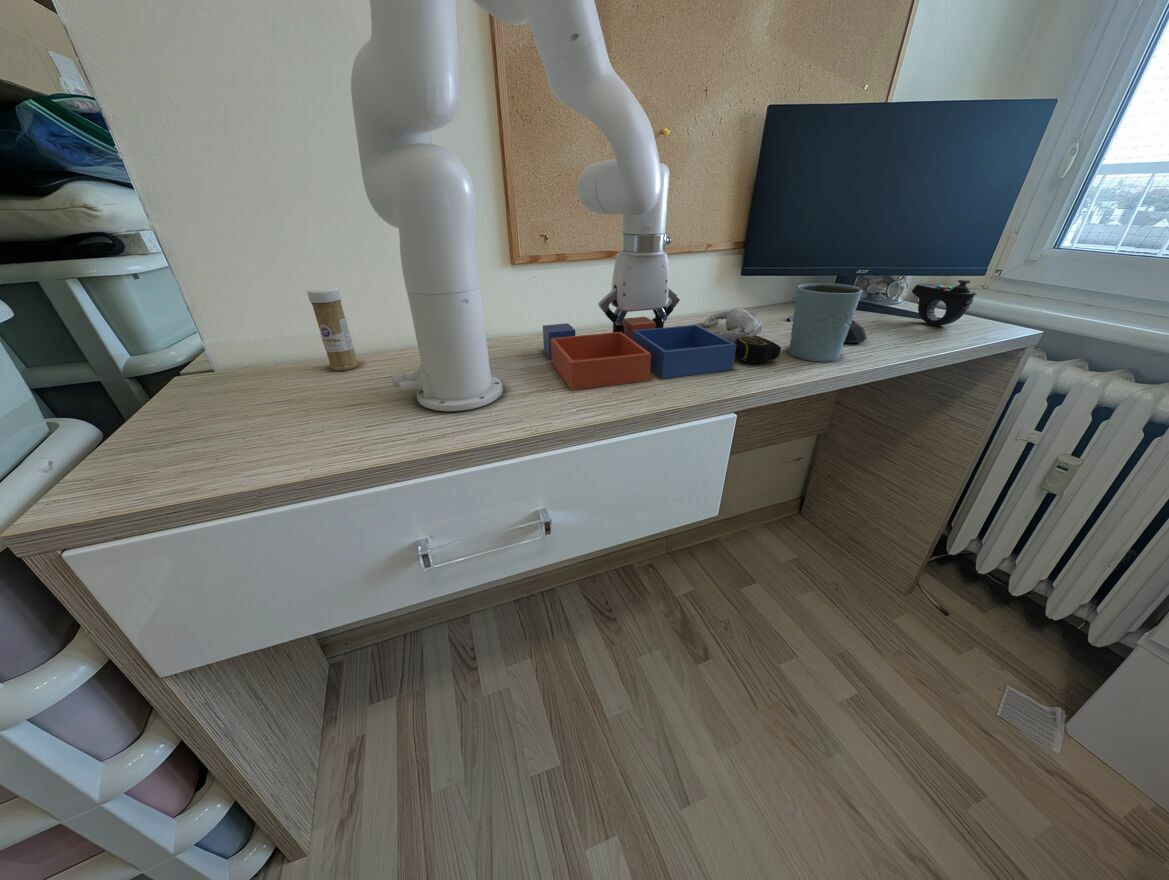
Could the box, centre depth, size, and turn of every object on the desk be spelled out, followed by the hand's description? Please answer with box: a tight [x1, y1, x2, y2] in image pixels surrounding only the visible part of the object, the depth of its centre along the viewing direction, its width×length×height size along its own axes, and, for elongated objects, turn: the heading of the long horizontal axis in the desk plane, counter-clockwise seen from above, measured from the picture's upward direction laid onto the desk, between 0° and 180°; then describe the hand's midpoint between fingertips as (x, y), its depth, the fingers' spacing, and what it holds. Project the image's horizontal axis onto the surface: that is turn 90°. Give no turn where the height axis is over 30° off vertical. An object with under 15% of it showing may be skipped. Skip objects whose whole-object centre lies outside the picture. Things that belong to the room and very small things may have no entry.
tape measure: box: [734, 335, 782, 364], centre depth 78 cm, size 7×7×4 cm
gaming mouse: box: [844, 319, 868, 344], centre depth 91 cm, size 6×15×4 cm, turn 17°
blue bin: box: [632, 324, 736, 380], centre depth 77 cm, size 13×13×4 cm
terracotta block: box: [622, 316, 656, 340], centre depth 85 cm, size 5×5×5 cm
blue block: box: [542, 322, 576, 360], centre depth 81 cm, size 5×5×5 cm
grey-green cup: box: [788, 282, 863, 363], centre depth 78 cm, size 10×10×12 cm
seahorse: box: [702, 307, 765, 343], centre depth 92 cm, size 5×12×20 cm
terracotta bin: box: [551, 331, 651, 391], centre depth 73 cm, size 13×13×4 cm
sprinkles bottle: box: [306, 285, 359, 371], centre depth 74 cm, size 5×5×13 cm
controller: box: [911, 279, 978, 327], centre depth 97 cm, size 4×12×10 cm, turn 17°
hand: (637, 341), depth 86 cm, fingers open, 7 cm apart
